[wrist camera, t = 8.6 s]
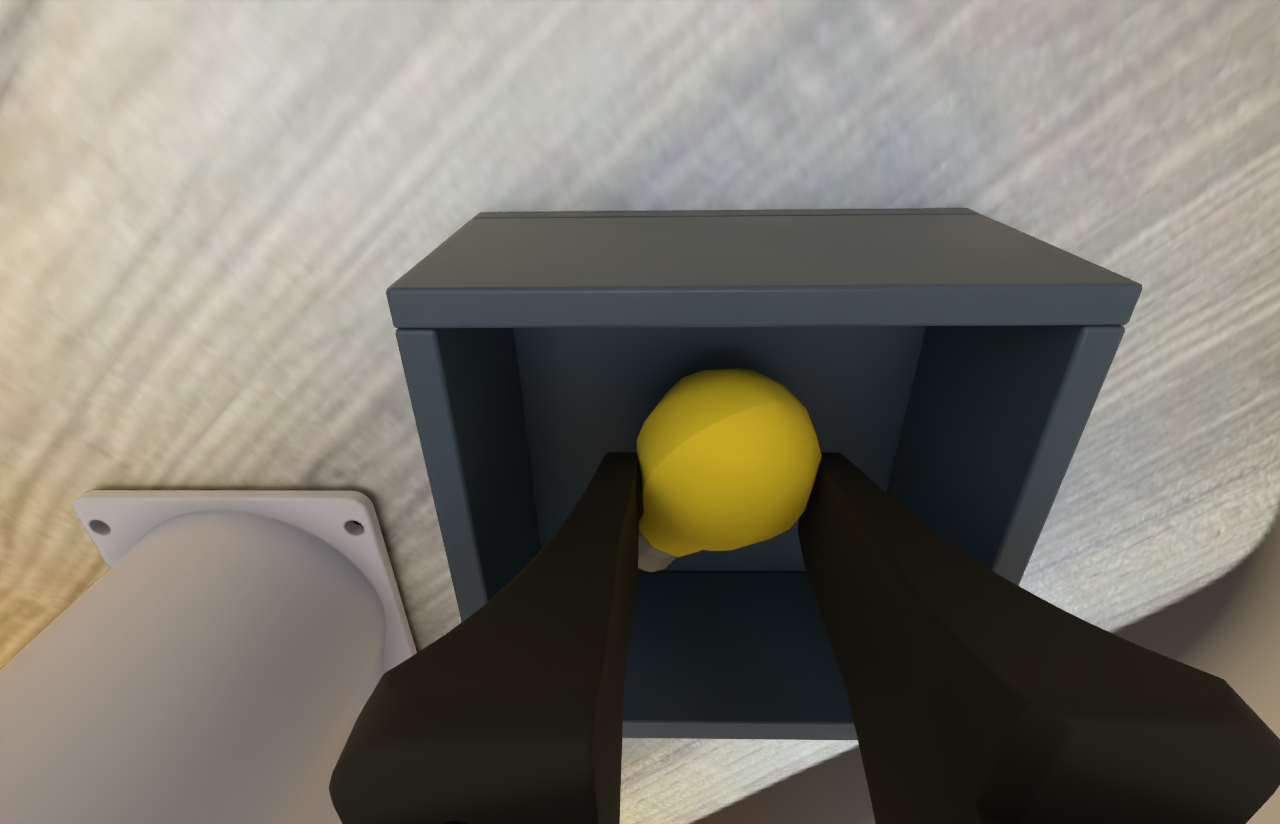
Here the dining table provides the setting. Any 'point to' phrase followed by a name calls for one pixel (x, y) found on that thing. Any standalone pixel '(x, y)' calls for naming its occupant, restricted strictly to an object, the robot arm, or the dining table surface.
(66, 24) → the dining table surface
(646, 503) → the light bulb
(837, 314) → the bin
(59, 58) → the dining table surface
